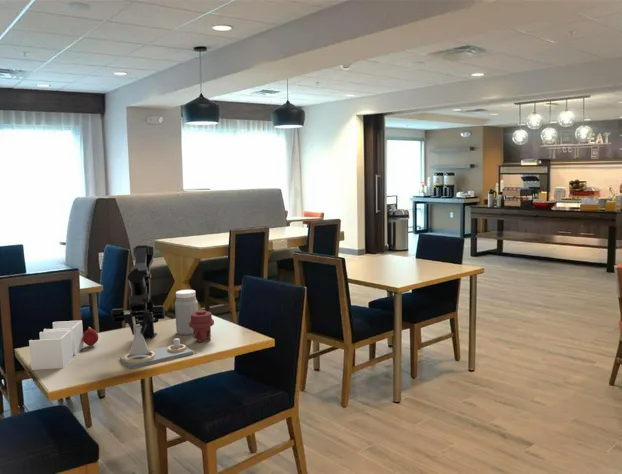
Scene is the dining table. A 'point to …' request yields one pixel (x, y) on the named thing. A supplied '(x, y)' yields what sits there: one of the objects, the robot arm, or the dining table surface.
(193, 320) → the mechanical component
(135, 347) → the flask
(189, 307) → the jar
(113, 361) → the dining table surface
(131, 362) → the board
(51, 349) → the storage container
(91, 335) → the onion
